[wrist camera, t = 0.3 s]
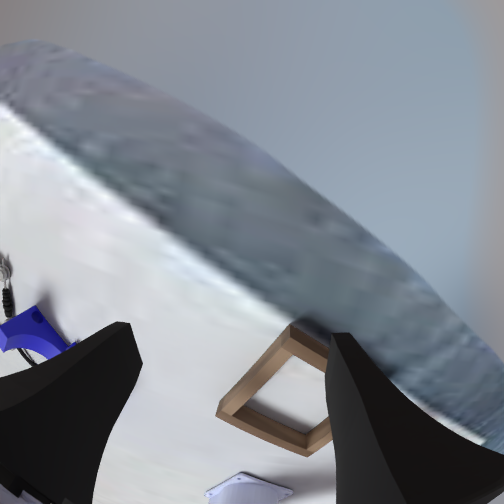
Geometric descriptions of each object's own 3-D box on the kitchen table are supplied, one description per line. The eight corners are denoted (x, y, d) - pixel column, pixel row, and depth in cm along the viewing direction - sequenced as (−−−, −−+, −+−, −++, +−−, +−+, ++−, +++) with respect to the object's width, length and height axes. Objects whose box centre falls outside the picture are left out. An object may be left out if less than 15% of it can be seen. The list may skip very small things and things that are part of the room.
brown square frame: (306, 442, 23) (307, 457, 21) (219, 401, 23) (215, 416, 21) (380, 379, 21) (387, 393, 19) (289, 323, 20) (290, 337, 18)
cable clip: (117, 383, 24) (88, 420, 18) (100, 398, 25) (74, 431, 19) (40, 296, 23) (1, 318, 17) (29, 319, 24) (-5, 340, 18)
